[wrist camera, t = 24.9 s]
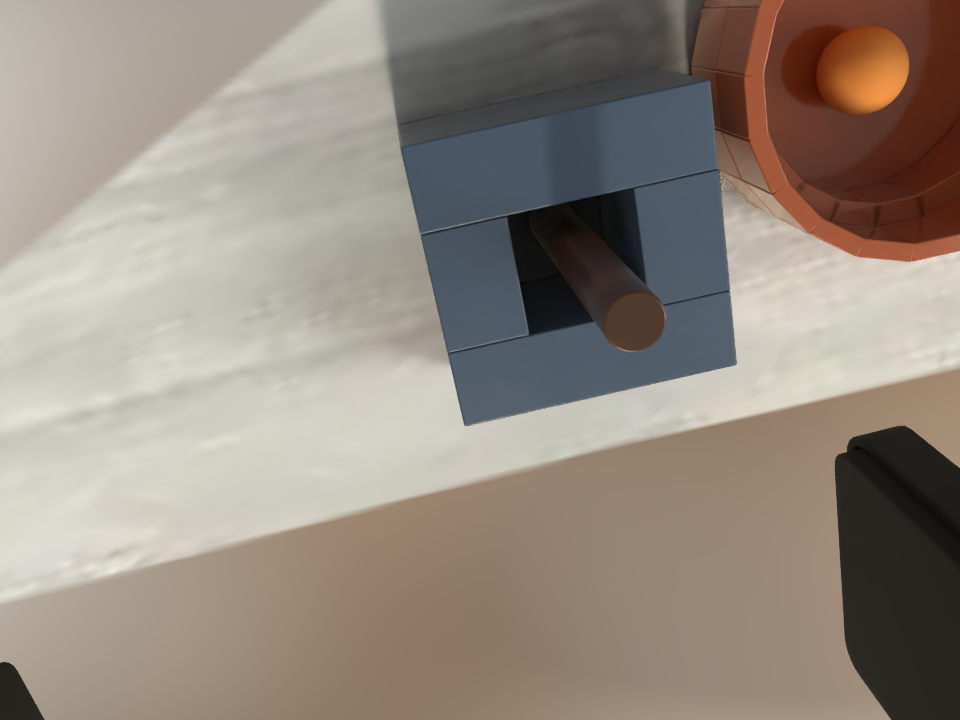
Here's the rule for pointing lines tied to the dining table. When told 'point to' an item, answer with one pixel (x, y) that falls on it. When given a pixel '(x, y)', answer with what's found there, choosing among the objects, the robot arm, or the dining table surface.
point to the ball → (862, 70)
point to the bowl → (838, 123)
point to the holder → (628, 229)
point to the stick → (600, 279)
